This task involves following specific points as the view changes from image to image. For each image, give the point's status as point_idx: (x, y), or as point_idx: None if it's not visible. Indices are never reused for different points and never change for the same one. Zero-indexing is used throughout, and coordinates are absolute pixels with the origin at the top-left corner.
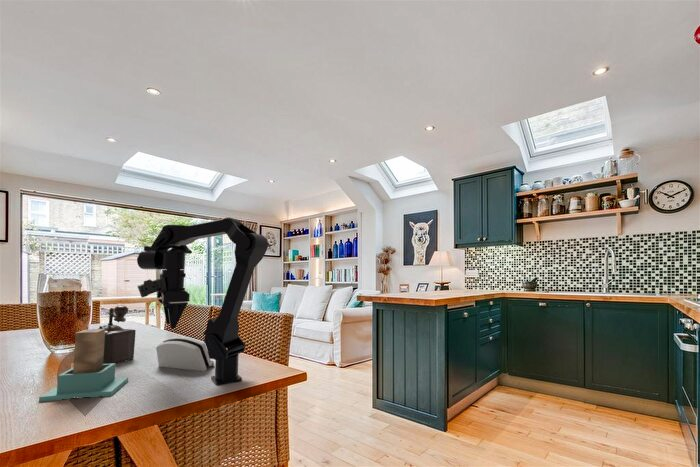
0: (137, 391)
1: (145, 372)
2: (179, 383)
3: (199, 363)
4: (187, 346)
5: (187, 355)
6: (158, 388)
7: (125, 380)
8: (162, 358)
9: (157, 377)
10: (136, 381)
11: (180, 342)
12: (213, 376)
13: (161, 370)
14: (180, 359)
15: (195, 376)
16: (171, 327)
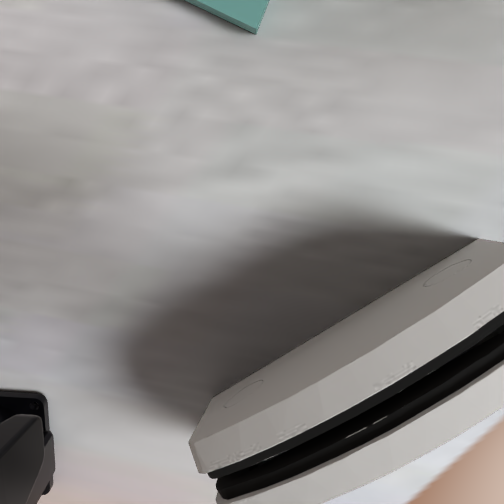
0: (15, 56)
1: (391, 151)
2: (50, 262)
3: (211, 408)
4: (240, 424)
5: (266, 386)
6: (15, 160)
7: (212, 9)
8: (456, 264)
9: (234, 191)
10: (223, 78)
11: (320, 408)
12: (40, 407)
13: (371, 234)
14: (325, 343)
15: (134, 348)
16: (5, 426)
